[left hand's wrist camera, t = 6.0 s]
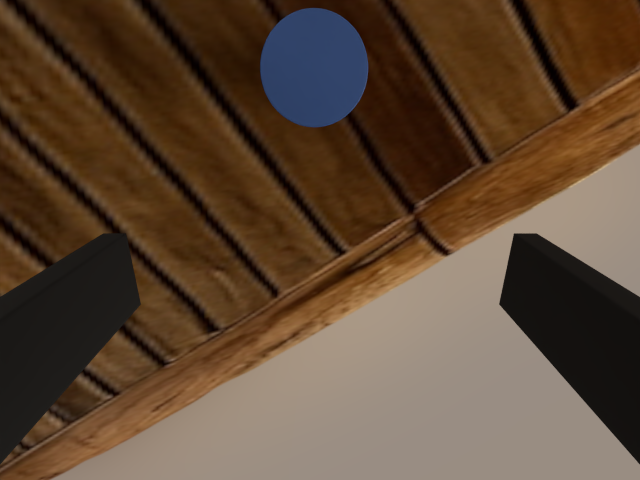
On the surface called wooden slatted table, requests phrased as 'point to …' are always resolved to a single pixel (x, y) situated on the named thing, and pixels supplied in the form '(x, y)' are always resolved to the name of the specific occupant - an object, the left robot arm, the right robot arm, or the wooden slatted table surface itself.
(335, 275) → the wooden slatted table surface
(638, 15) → the wooden slatted table surface
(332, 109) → the lid
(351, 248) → the wooden slatted table surface
